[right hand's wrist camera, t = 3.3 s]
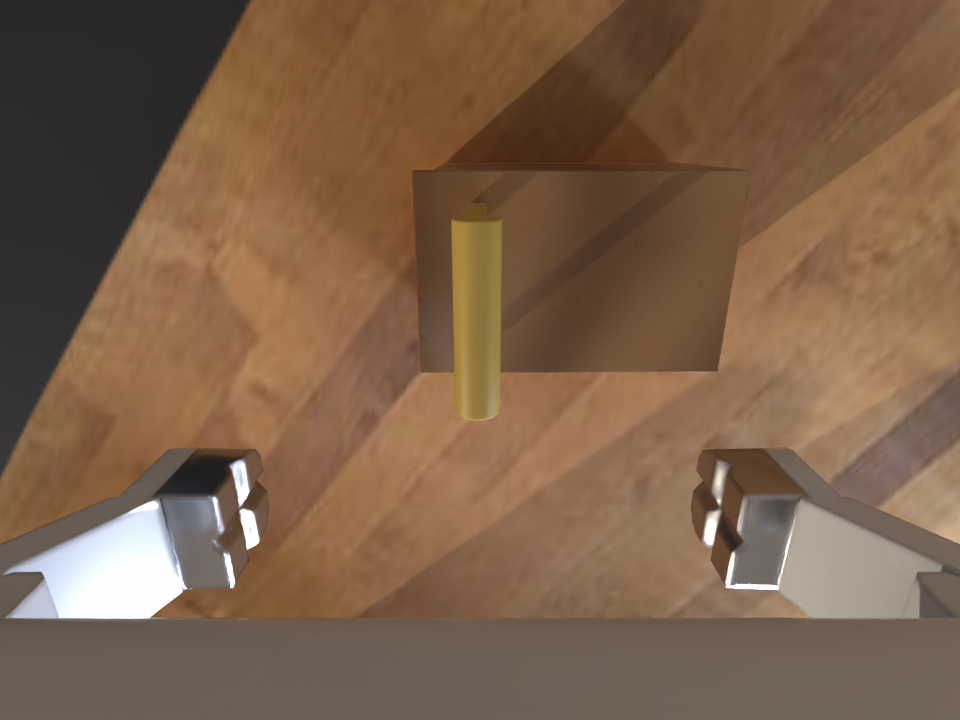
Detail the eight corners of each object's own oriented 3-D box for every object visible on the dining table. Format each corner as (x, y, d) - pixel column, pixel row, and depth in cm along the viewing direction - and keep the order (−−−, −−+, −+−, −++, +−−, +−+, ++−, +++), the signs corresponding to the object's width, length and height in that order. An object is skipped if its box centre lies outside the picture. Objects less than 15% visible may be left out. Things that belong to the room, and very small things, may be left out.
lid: (422, 366, 28) (400, 449, 20) (413, 169, 25) (384, 181, 17) (711, 366, 28) (797, 449, 20) (743, 169, 25) (861, 180, 17)
